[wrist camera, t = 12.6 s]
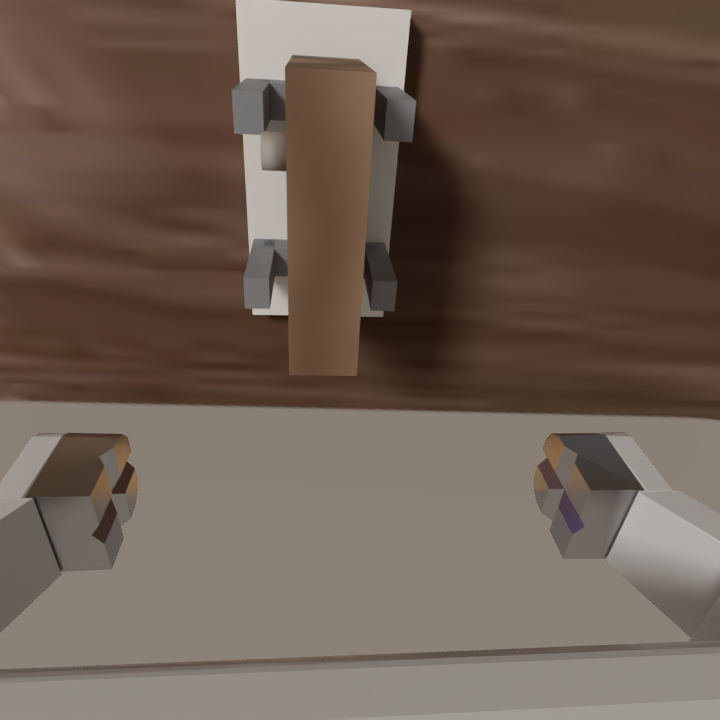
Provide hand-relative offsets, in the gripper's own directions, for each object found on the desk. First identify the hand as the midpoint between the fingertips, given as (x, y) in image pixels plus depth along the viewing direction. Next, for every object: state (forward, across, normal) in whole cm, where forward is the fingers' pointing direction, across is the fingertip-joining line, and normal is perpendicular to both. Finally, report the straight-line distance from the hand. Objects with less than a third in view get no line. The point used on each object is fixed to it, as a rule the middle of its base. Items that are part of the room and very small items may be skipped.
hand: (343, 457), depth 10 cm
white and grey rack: (+23, 0, 0) cm, 23 cm away
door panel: (+20, 0, 0) cm, 20 cm away
